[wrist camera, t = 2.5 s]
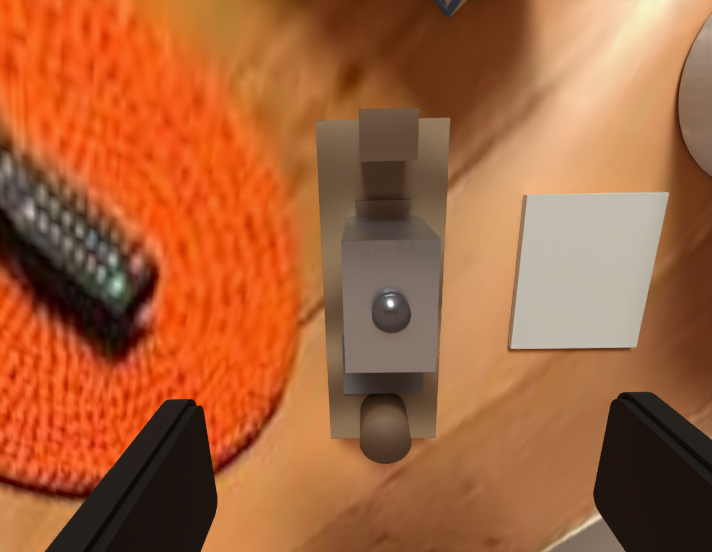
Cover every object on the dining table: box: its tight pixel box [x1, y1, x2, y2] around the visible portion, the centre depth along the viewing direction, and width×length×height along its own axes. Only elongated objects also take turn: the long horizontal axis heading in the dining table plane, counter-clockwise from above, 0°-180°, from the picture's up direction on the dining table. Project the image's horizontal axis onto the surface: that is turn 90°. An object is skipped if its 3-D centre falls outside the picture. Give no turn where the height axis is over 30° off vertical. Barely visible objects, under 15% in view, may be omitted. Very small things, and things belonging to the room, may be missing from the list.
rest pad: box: [508, 192, 669, 349], centre depth 27 cm, size 11×9×1 cm
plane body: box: [316, 108, 450, 464], centre depth 23 cm, size 20×7×10 cm, turn 1°
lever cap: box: [341, 215, 441, 373], centre depth 19 cm, size 6×4×7 cm, turn 1°
